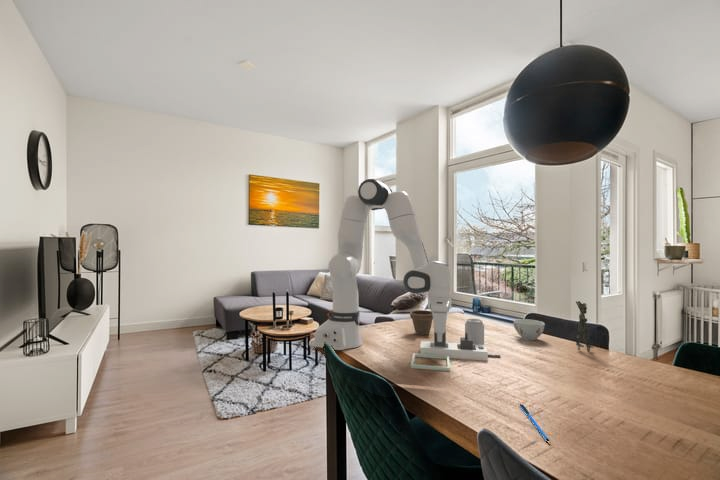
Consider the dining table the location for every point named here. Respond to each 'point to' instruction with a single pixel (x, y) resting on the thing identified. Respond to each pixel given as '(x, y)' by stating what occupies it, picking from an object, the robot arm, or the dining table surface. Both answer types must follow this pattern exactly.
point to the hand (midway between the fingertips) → (439, 339)
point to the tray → (429, 365)
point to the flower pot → (422, 321)
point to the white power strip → (456, 351)
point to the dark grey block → (443, 343)
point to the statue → (582, 326)
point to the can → (475, 330)
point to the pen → (533, 421)
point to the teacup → (529, 328)
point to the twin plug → (466, 342)
